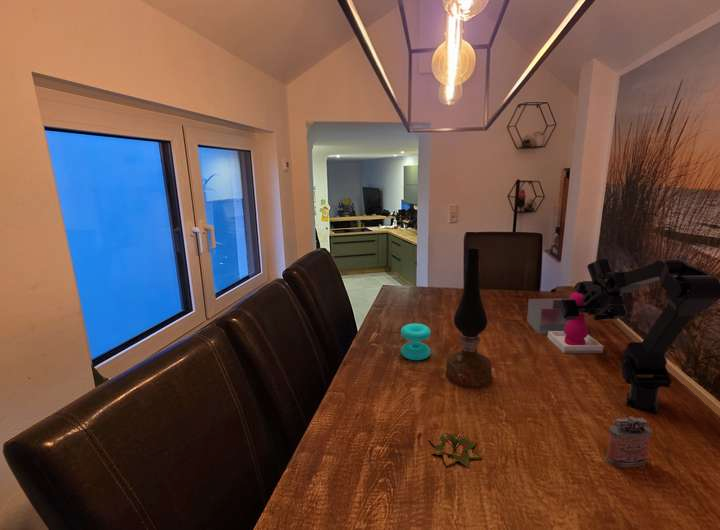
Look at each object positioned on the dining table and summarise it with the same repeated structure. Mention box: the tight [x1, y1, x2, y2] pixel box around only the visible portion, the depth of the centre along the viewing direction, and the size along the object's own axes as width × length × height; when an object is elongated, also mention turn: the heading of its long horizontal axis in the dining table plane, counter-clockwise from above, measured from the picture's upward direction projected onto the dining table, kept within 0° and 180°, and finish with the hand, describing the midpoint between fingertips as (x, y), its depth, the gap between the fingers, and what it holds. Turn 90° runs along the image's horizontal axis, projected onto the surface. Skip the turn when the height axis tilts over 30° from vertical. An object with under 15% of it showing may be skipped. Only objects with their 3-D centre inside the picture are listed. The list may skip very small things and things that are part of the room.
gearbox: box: [526, 297, 586, 335], centre depth 144 cm, size 12×16×13 cm
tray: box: [547, 331, 604, 354], centre depth 130 cm, size 13×13×2 cm
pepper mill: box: [564, 291, 589, 345], centre depth 127 cm, size 7×7×20 cm
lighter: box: [605, 415, 653, 468], centre depth 76 cm, size 8×3×10 cm, turn 92°
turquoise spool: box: [400, 323, 432, 361], centre depth 126 cm, size 10×10×10 cm
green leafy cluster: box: [433, 428, 484, 468], centre depth 82 cm, size 12×12×5 cm
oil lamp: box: [444, 248, 493, 389], centre depth 112 cm, size 14×15×40 cm
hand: (580, 319), depth 126 cm, fingers open, 9 cm apart
